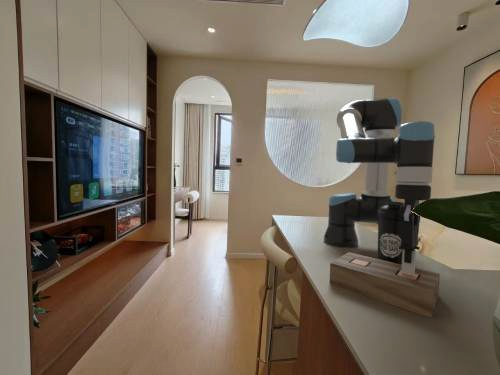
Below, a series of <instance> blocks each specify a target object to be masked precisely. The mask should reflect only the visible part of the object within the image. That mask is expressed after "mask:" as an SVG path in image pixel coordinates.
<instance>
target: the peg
mask: <svg viewBox="0 0 500 375" xmlns="http://www.w3.org/2000/svg"><path fill="white" fill-rule="evenodd" d="M351 263H353V264H357V265H360V266H364V267H367V266H368V265H369V262H366V261H362V260H358V259H355V260H353V261H352V262H351Z"/></svg>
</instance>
